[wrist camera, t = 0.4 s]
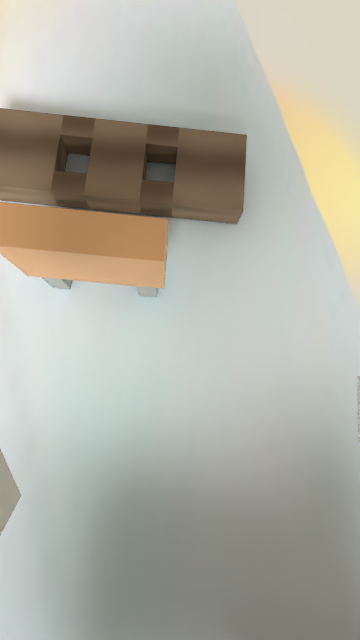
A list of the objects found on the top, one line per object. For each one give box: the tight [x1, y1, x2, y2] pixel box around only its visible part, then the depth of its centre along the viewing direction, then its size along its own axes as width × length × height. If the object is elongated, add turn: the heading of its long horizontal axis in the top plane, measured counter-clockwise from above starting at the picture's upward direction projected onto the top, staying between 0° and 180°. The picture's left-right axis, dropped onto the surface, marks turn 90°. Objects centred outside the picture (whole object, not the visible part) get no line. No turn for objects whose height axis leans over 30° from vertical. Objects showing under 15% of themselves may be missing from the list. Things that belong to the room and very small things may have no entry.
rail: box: [0, 108, 247, 224], centre depth 33 cm, size 8×24×2 cm, turn 85°
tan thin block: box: [0, 202, 168, 297], centre depth 27 cm, size 3×11×10 cm, turn 85°
